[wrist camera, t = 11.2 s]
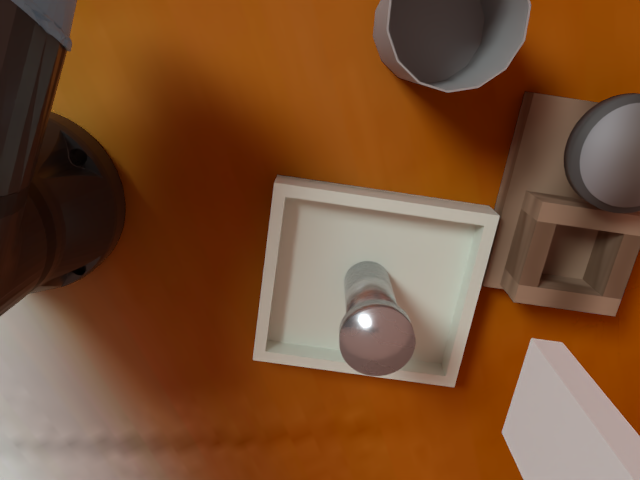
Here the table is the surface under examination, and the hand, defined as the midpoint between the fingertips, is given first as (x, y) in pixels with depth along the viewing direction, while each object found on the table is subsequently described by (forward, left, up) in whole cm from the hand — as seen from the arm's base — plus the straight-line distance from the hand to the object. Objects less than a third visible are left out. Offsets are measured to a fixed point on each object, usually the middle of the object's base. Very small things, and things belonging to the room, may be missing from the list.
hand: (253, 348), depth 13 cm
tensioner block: (+22, -1, -33) cm, 39 cm away
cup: (+8, +10, -33) cm, 35 cm away
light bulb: (+7, -11, -32) cm, 34 cm away
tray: (+7, -11, -33) cm, 35 cm away
